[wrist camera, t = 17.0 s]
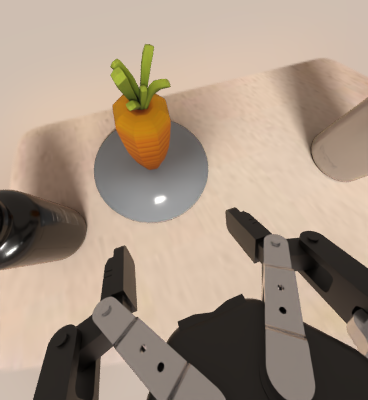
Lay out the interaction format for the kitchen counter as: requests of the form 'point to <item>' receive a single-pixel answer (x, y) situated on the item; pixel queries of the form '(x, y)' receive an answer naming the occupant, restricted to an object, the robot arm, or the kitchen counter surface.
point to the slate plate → (152, 178)
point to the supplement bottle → (36, 230)
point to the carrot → (142, 113)
